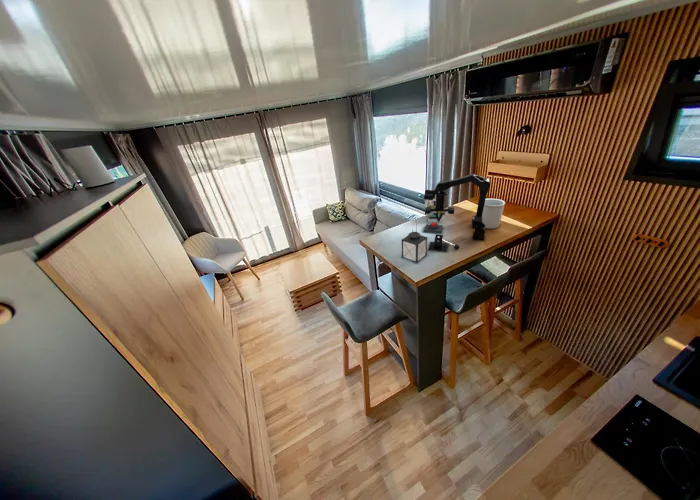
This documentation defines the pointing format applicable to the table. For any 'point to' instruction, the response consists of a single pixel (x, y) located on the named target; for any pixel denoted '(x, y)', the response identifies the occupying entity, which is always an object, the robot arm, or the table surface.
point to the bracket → (438, 244)
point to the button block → (433, 228)
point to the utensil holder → (492, 212)
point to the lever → (450, 243)
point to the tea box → (432, 213)
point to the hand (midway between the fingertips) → (438, 221)
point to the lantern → (414, 246)
